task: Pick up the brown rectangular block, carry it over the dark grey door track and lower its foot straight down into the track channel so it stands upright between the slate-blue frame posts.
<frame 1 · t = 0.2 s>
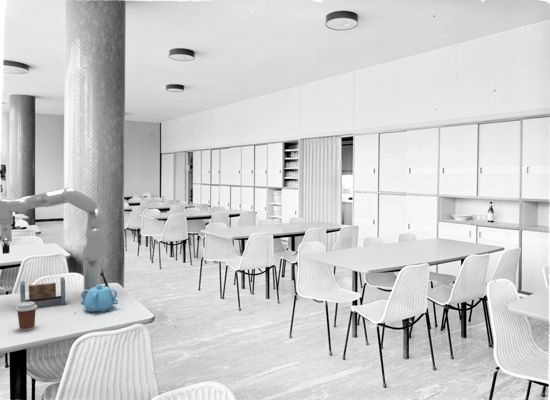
hand: (6, 252, 248), 31 cm above the table, tool pointing down, fingers open, 9 cm apart
coffee cup: (27, 328, 215), on the table
brown rectangular block: (42, 299, 263), on the table
decorative pot: (99, 309, 244), on the table
phone stand: (101, 288, 291), on the table
door track: (43, 305, 251), on the table
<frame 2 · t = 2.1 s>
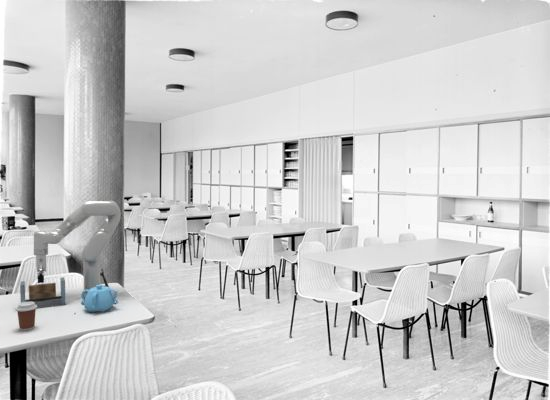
hand: (40, 280, 262), 11 cm above the table, tool pointing down, fingers open, 9 cm apart
nothing on the table moved.
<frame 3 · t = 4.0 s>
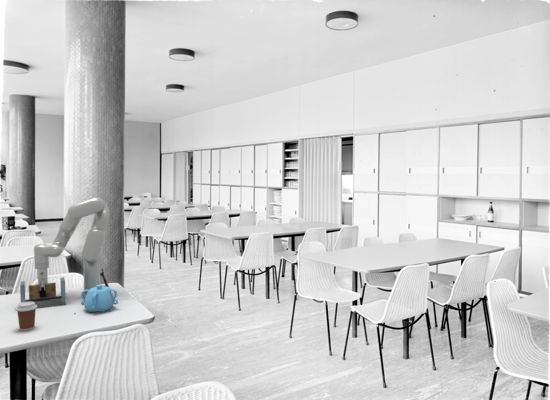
hand: (42, 295, 263), 2 cm above the table, tool pointing down, fingers closed on brown rectangular block, 3 cm apart
brown rectangular block: (42, 299, 263), on the table, touching gripper
everything else where it was.
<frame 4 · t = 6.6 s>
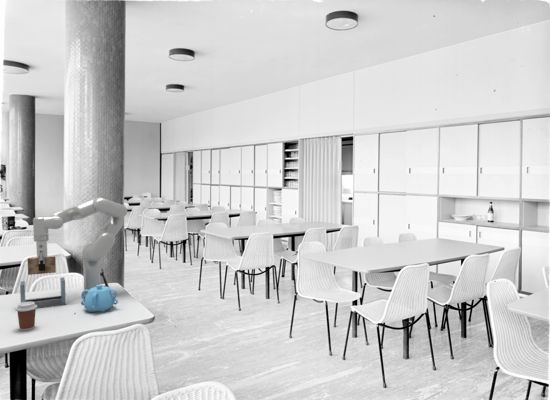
hand: (42, 269, 256), 19 cm above the table, tool pointing down, fingers closed on brown rectangular block, 3 cm apart
brown rectangular block: (42, 273, 256), point 17 cm above the table, touching gripper
everything else where it was.
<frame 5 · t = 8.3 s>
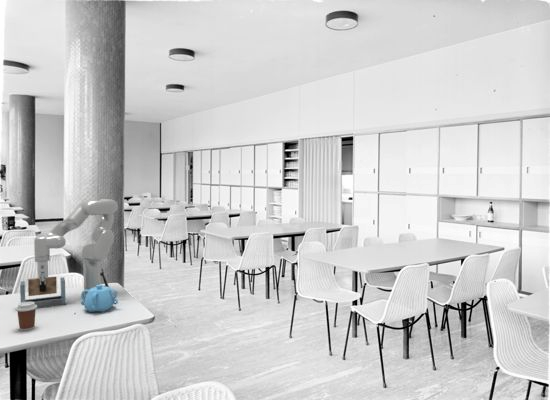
hand: (42, 290, 250), 9 cm above the table, tool pointing down, fingers closed on brown rectangular block, 3 cm apart
brown rectangular block: (42, 294, 250), point 7 cm above the table, touching gripper
everything else where it was.
when the fingers open (4 cm above the table, at t = 9.5 s): brown rectangular block drops 1 cm, resting on door track.
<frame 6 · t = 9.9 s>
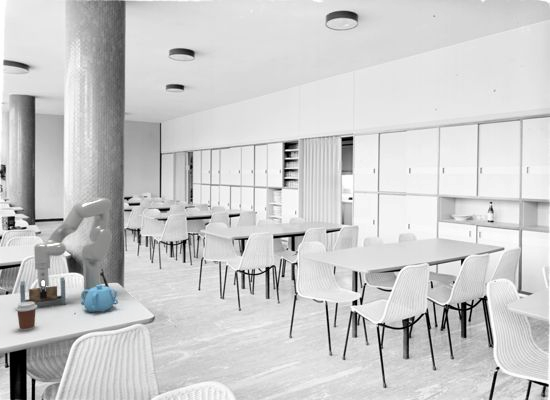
hand: (43, 296, 251), 5 cm above the table, tool pointing down, fingers open, 7 cm apart
brown rectangular block: (43, 303, 251), point 1 cm above the table, touching door track
everything else where it was.
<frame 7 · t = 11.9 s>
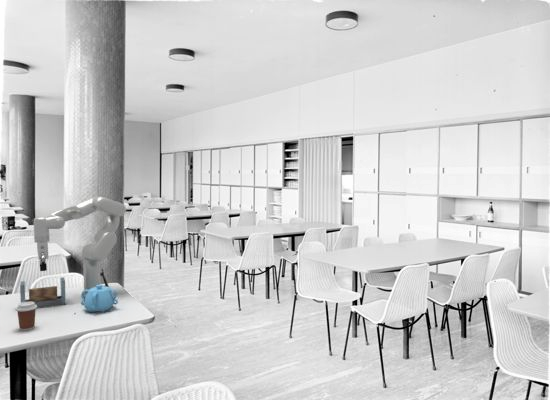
hand: (43, 269, 251), 21 cm above the table, tool pointing down, fingers open, 9 cm apart
nothing on the table moved.
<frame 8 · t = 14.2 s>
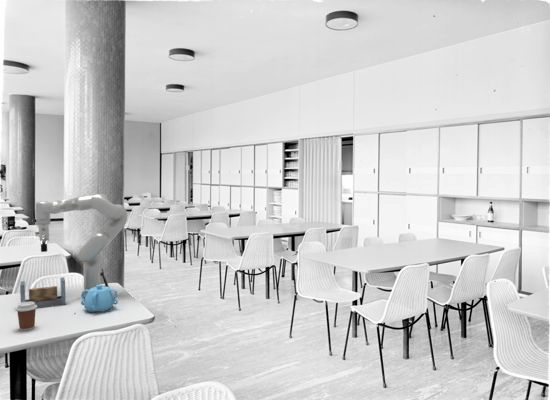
hand: (44, 250, 267), 28 cm above the table, tool pointing down, fingers open, 9 cm apart
nothing on the table moved.
at the end: brown rectangular block inside the target area on the door track (0.0 cm from its centre), point 1.0 cm above the door track's base; brown rectangular block tilted 0°; the gripper is holding nothing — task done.
